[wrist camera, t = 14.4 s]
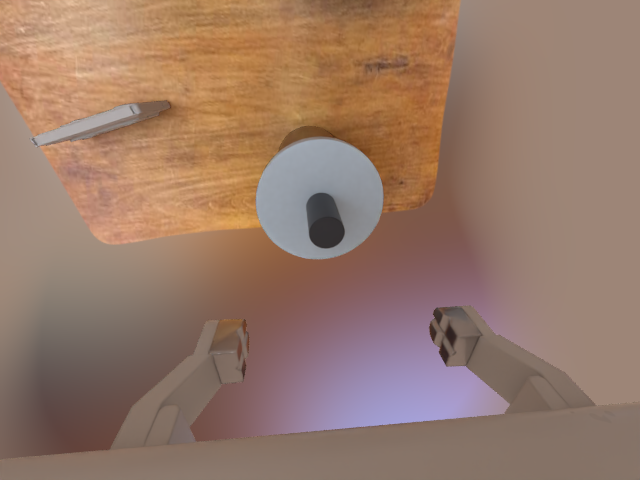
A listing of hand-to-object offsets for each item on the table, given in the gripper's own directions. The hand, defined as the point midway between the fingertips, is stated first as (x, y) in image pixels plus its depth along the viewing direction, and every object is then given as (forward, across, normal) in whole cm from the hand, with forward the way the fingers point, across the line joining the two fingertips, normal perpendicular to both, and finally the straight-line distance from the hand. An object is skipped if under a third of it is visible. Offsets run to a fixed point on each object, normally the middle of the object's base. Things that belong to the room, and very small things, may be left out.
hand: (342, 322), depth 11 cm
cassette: (+30, +23, -5) cm, 38 cm away
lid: (+15, 0, 0) cm, 15 cm away
